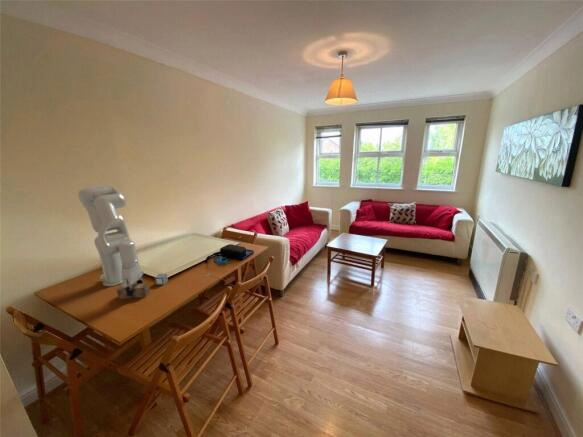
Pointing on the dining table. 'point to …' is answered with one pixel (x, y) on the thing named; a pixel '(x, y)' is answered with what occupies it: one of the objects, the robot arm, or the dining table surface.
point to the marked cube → (161, 279)
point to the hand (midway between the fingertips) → (135, 291)
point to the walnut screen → (134, 291)
